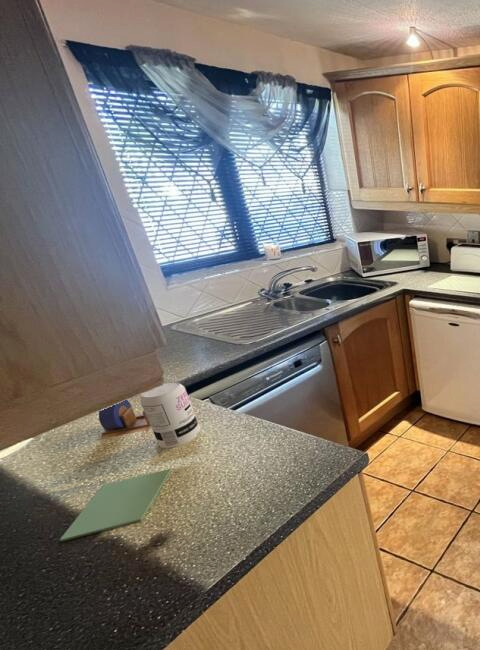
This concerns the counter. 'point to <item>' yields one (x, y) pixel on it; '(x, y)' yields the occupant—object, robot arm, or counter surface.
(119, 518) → the mat
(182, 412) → the supplement can
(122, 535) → the counter surface
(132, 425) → the tape rack
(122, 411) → the vinyl tape
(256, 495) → the counter surface
